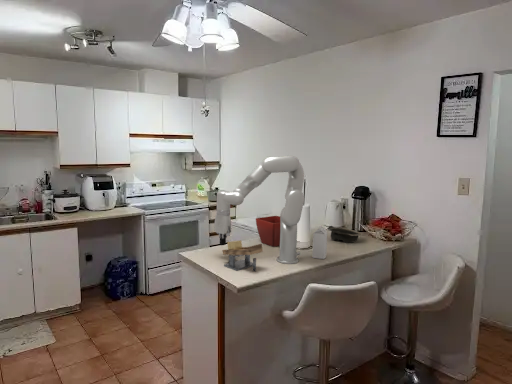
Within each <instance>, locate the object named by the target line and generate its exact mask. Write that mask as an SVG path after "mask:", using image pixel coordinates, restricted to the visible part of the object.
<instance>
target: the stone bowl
mask: <svg viewBox="0 0 512 384" xmlns="http://www.w3.org/2000/svg"><path fill="white" fill-rule="evenodd" d="M326 230H329V231H330V232H331V233H330V238H331V240H333V241H341V240H342V241H343V243H346V244H349V243H350V242H352V243H354V241H355V242H356V241H357V240H358V239H359V236H360V237H361V236H363V233H362V232H360V231H357V230H353V229H349V228H345V227H334V226H333V225H329V226H328V228H326Z"/></svg>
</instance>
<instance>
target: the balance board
mask: <svg viewBox="0 0 512 384" xmlns="http://www.w3.org/2000/svg"><path fill="white" fill-rule="evenodd" d="M262 244H263V243H260V244H255V245H251V246H242V250H228V249H222V255H225V256H229V255H243V256H245V255H250V256H252V255H255V254H260V253H263V252H264V250H263V245H262Z"/></svg>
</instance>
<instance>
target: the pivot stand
mask: <svg viewBox="0 0 512 384" xmlns="http://www.w3.org/2000/svg"><path fill="white" fill-rule="evenodd" d="M242 256H244V259H240V260H236V258H238V257H242ZM223 267H225V268H228V269H230V270H233V271H236V272H237V271H241V270H246V269H248V268H252V272H256V271H257V258H256V257H253V258H252V261H251V255H228V263H224V264H223Z"/></svg>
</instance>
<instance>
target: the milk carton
mask: <svg viewBox="0 0 512 384" xmlns="http://www.w3.org/2000/svg"><path fill="white" fill-rule="evenodd" d="M312 235H313V236H312V251H311V252H312V253H311V254H312V255H311V257H312V258H314V259H320V260H325V259H326V257H327V247H328V246H327V245H328V231H327V228H325V227H323V224H321V225H320V226H319V228H318V229H316V230H315V231H314V232H313V233H312Z"/></svg>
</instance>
